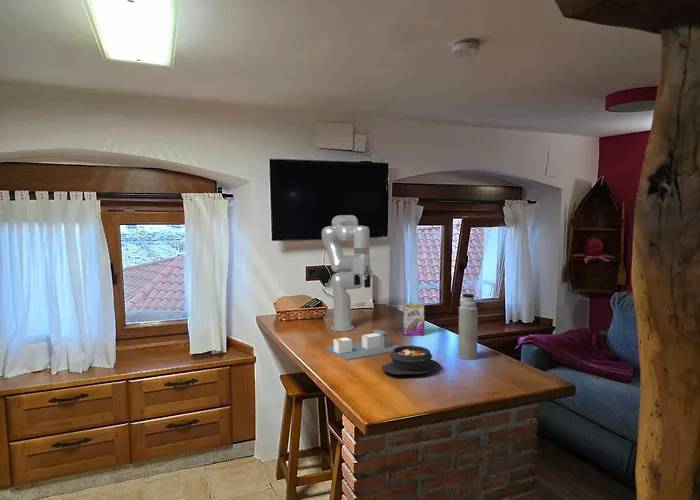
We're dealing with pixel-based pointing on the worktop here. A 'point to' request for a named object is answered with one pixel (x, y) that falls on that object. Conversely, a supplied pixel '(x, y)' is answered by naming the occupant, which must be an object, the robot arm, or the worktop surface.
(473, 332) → the thermos bottle
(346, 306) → the robot arm
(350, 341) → the white and peach box
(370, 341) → the grey board with blocks
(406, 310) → the candy bar box
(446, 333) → the worktop surface
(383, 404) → the worktop surface
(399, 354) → the casserole
